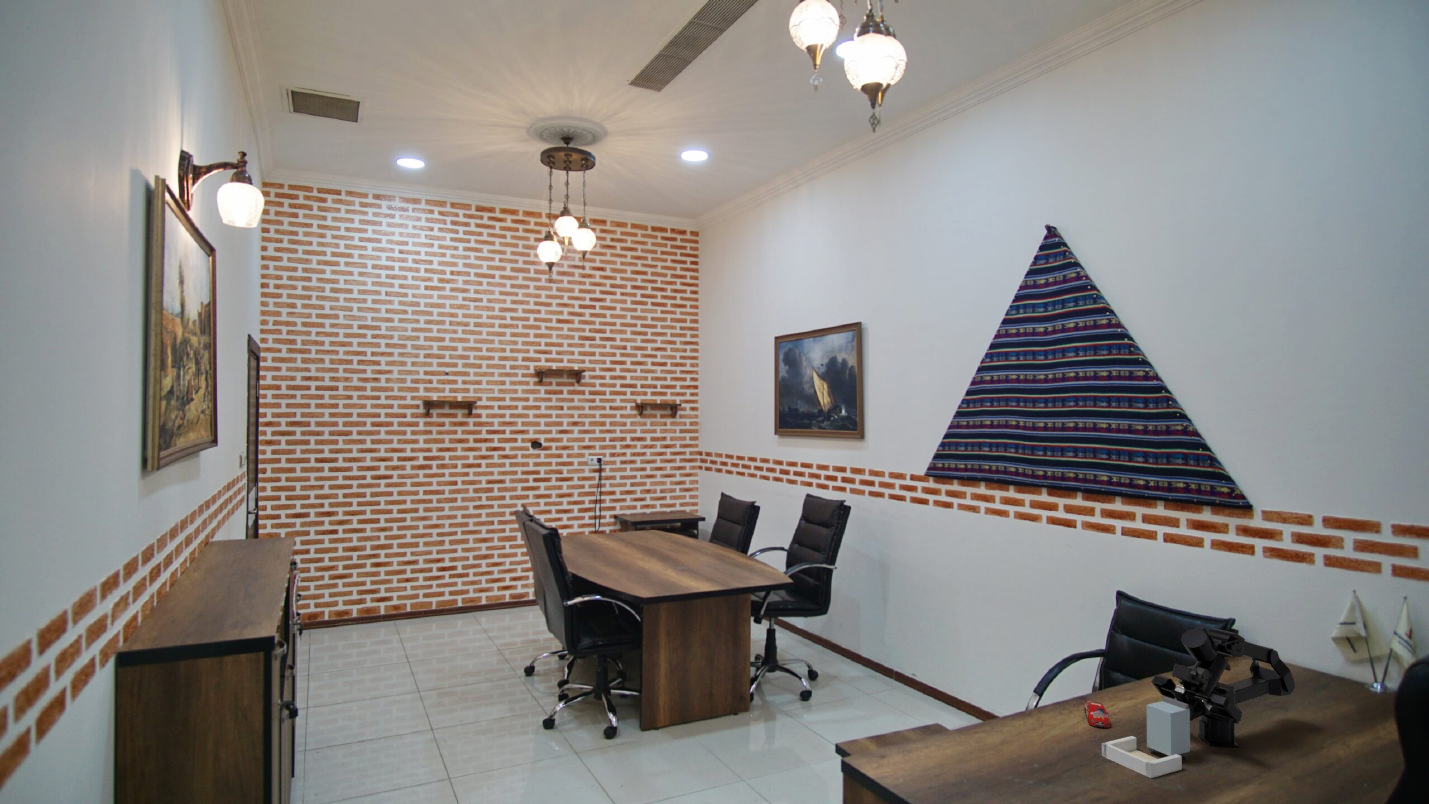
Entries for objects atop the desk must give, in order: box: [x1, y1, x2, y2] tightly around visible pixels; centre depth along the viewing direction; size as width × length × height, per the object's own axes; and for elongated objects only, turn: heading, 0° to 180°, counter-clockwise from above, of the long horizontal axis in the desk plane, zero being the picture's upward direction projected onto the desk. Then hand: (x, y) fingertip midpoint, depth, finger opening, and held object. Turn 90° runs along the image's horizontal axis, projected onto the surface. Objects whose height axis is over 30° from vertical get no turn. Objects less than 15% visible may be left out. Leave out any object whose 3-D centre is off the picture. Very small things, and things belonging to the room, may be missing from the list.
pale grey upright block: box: [1146, 696, 1191, 758], centre depth 182 cm, size 7×6×12 cm
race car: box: [1083, 700, 1111, 728], centre depth 203 cm, size 13×5×4 cm, turn 159°
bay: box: [1101, 735, 1183, 779], centre depth 177 cm, size 11×12×3 cm
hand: (1178, 724), depth 183 cm, fingers closed, pressing on pale grey upright block
